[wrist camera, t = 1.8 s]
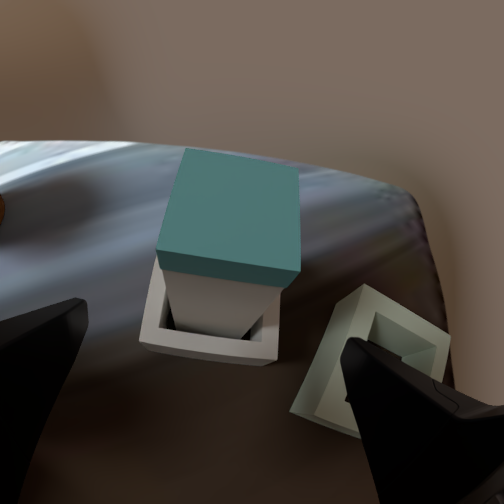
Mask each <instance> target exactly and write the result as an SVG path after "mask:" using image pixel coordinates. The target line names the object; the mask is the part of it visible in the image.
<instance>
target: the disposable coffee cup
mask: <svg viewBox="0 0 504 504" xmlns="http://www.w3.org/2000/svg"><path fill="white" fill-rule="evenodd" d="M4 212H5V204H4V201H3V199H2V197H1V195H0V224H1V222H2V220H3V217H4Z"/></svg>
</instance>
